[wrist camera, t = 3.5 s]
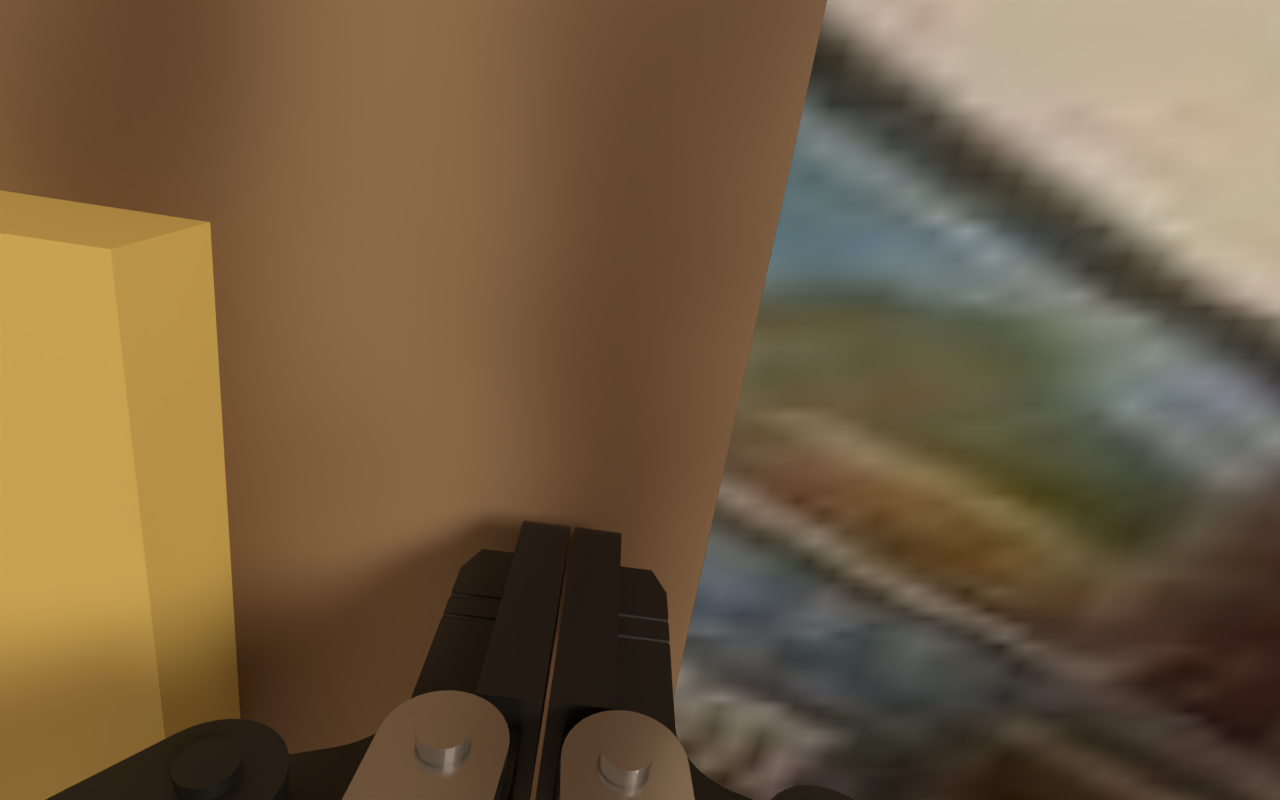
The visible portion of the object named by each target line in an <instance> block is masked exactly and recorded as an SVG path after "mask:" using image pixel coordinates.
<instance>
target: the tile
mask: <svg viewBox="0 0 1280 800" xmlns="http://www.w3.org/2000/svg"><path fill="white" fill-rule="evenodd" d="M222 719H240V705H239V688H238V672H237V655H236V639H235V622H234V606H233V590H232V573H231V557H230V540H229V524H228V507H227V491H226V474H225V458H224V441H223V425H222V408H221V392H220V376H219V359H218V343H217V326H216V310H215V293H214V277H213V260H212V244H211V227H210V222H205V221H199V220H192V219H185V218H179V217H172V216H166V215H159V214H152V213H146V212H139V211H133V210H126V209H119V208H113V207H106V206H100V205H93V204H87V203H80V202H73V201H67V200H60V199H54V198H47V197H40V196H34V195H27V194H21V193H14V192H7V191H1V190H0V800H45V799H47V798H49V797H51V796H53V795H55V794H57V793H59V792H61V791H63V790H65V789H67V788H69V787H71V786H73V785H75V784H77V783H79V782H81V781H83V780H85V779H87V778H89V777H91V776H93V775H95V774H97V773H99V772H101V771H103V770H105V769H107V768H109V767H110V766H112V765H114V764H116V763H118V762H120V761H122V760H124V759H126V758H128V757H130V756H132V755H134V754H136V753H138V752H140V751H142V750H144V749H146V748H148V747H150V746H152V745H154V744H156V743H158V742H160V741H162V740H164V739H166V738H168V737H170V736H172V735H174V734H176V733H178V732H180V731H182V730H185V729H187V728H189V727H192V726H195V725H198V724H201V723H205V722H210V721H214V720H222Z"/></svg>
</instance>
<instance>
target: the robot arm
mask: <svg viewBox="0 0 1280 800" xmlns="http://www.w3.org/2000/svg"><path fill="white" fill-rule="evenodd" d="M570 527H571V526H564V525H556V524H549V523H541V522H533V521H526V520H524V521H523V523H522V526H521V530H520V533H519V537H518V541H517V544H516V548H515V552H514V553H512V552H504V551H496V550H489V549H482V550H481V551H479V552H478V553H477V554H476V555H475V556H474V557H472V558H471V559H470V560H469V561H468V562H467V563H465V564H464V565H463V566H462V567H461V568H460V571H459V573H458V576H457V578H456V581H455V584H454V586H453V589H452V592H451V597H449V599H448V602H447V605H446V607H445V610H444V614H443V617H442V618H441V620H440V623H439V626H438V628H437V631H436V634H435V636H434V639H433V641H432V644H431V647H430V649H429V652H428V654H427V657H426V660H425V662H424V665H423V668H422V670H421V673H420V675H419V678H418V681H417V683H416V686H415V689H414V691H413V694H412V696H411V698H410V699H409V700H408V701H406V702H404V703H402V704H401V705H399V706H398V707H397V708H395V709H394V710H393V711H392V712H391V713H390V714H389V715H388V716H387V717H386V718H385V719H384V721H383V722H382V724H381V725H380V727H379V729H378V731H377V732H376V733H375V734H373V735H371V736H369V737H366V738H364V739H362V740H359V741H356V742H353V743H350V744H347V745H342V746H337V747H332V748H326V749H319V750H313V751H307V752H300V753H294V754H289V753H288V749H287V746H286V743H285V742H284V740H283V739H282V737H281V736H280V735H279V734H278V733H277V732H276V731H275V730H273V729H272V728H270V727H268V726H266V725H265V724H262V723H259V722H256V721H252V720H245V719H222V720H214V721H210V722H205V723H201V724H198V725H195V726H192V727H189V728H187V729H185V730H182V731H180V732H178V733H176V734H174V735H172V736H170V737H168V738H166V739H164V740H162V741H160V742H158V743H156V744H154V745H152V746H150V747H148V748H146V749H144V750H142V751H140V752H138V753H136V754H134V755H132V756H130V757H128V758H126V759H124V760H122V761H120V762H118V763H116V764H114V765H112V766H110V767H109V768H107V769H105V770H103V771H101V772H99V773H97V774H95V775H93V776H91V777H89V778H87V779H85V780H83V781H81V782H79V783H77V784H75V785H73V786H71V787H69V788H67V789H65V790H63V791H61V792H59V793H57V794H55V795H53V796H51V797H49V798H47V799H45V800H530V798H531V791H532V785H533V778H534V772H535V765H536V759H537V752H538V746H539V739H540V733H541V726H542V720H543V713H544V707H545V700H546V694H547V687H548V681H549V674H550V668H551V661H552V655H553V648H554V641H555V635H556V628H557V621H558V614H559V607H560V600H561V592H562V585H563V578H564V571H565V564H566V556H567V549H568V542H569V535H570ZM621 539H622V535H621V533H618V532H611V531H603V530H596V529H588V528H580V527H575V529H574V536H573V543H572V549H571V556H570V563H569V570H568V576H567V583H566V590H565V597H564V604H563V610H562V617H561V624H560V631H559V638H558V644H557V651H556V658H555V665H554V671H553V678H552V685H551V692H550V699H549V706H548V713H547V720H546V727H545V734H544V741H543V748H542V755H541V762H540V769H539V776H538V784H537V791H536V798H535V800H752V799H750V798H747V797H745V796H742V795H740V794H737V793H735V792H733V791H730V790H728V789H726V788H724V787H722V786H720V785H718V784H717V783H715V782H714V781H712V780H710V779H709V778H708V777H706V776H705V775H704V774H703V773H702V772H700V771H699V770H698V769H697V768H696V767H695V766H694V765H693V764H692V763H691V761H690V760H689V759H688V757H687V755H686V752H685V750H684V748H683V746H682V744H681V743H680V741H679V740H678V738H677V735H676V729H675V718H674V701H673V685H672V669H671V652H670V645H669V641H670V636H669V624H668V603H667V593H666V591H665V590H664V588H663V587H662V585H661V584H660V582H659V581H658V579H657V577H656V576H655V574H654V573H653V571H652V570H646V569H638V568H630V567H622V566H621ZM771 800H853V799H851V798H849V797H847V796H845V795H843V794H841V793H839V792H837V791H834V790H831V789H828V788H824V787H819V786H809V785H804V786H795V787H792V788H788V789H786V790H784V791H782V792H780V793H778V794H777V795H776V796H775V797H774V798H772V799H771Z"/></svg>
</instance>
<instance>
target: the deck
mask: <svg viewBox="0 0 1280 800" xmlns="http://www.w3.org/2000/svg"><path fill="white" fill-rule="evenodd" d="M826 2H827V0H0V190H1V191H7V192H14V193H21V194H27V195H34V196H40V197H47V198H54V199H60V200H67V201H73V202H80V203H87V204H93V205H100V206H106V207H113V208H119V209H126V210H133V211H139V212H146V213H152V214H159V215H166V216H172V217H179V218H185V219H192V220H199V221H205V222H210V227H211V244H212V260H213V277H214V293H215V310H216V326H217V343H218V359H219V376H220V392H221V408H222V425H223V441H224V458H225V474H226V491H227V507H228V524H229V540H230V557H231V573H232V590H233V606H234V622H235V639H236V655H237V672H238V688H239V705H240V719H245V720H252V721H256V722H259V723H262V724H265V725H266V726H268V727H270V728H272V729H273V730H275V731H276V732H277V733H278V734H279V735H280V736H281V737H282V739H283V740H284V742H285V743H286V746H287V749H288V753H289V754H294V753H300V752H307V751H313V750H319V749H326V748H332V747H337V746H342V745H347V744H350V743H353V742H356V741H359V740H362V739H364V738H366V737H369V736H371V735H373V734H375V733H376V732H377V731H378V729H379V727H380V725H381V724H382V722H383V721H384V719H385V718H386V717H387V716H388V715H389V714H390V713H391V712H392V711H393V710H394V709H395V708H397V707H398V706H399V705H401V704H402V703H404V702H406V701H408V700H409V699H410V698H411V696H412V694H413V691H414V689H415V686H416V683H417V681H418V678H419V675H420V673H421V670H422V668H423V665H424V662H425V660H426V657H427V654H428V652H429V649H430V647H431V644H432V641H433V639H434V636H435V634H436V631H437V628H438V626H439V623H440V620H441V618H442V617H443V614H444V610H445V607H446V605H447V602H448V599H449V597H451V592H452V589H453V586H454V584H455V581H456V578H457V576H458V573H459V571H460V568H461V567H462V566H463V565H464V564H465V563H467V562H468V561H469V560H470V559H471V558H472V557H474V556H475V555H476V554H477V553H478V552H479V551H481V550H482V549H489V550H496V551H504V552H512V553H514V552H515V548H516V544H517V541H518V537H519V533H520V530H521V526H522V523H523V521H524V520H526V521H533V522H541V523H549V524H556V525H564V526H571V527H570V535H569V542H568V549H567V556H566V564H565V571H564V578H563V585H562V592H561V600H560V607H559V614H558V621H557V628H556V635H555V641H554V648H553V655H552V661H551V668H550V674H549V681H548V687H547V694H546V700H545V707H544V713H543V720H542V726H541V733H540V739H539V746H538V752H537V759H536V765H535V772H534V778H533V785H532V791H531V798H530V800H535V798H536V791H537V784H538V776H539V769H540V762H541V755H542V748H543V741H544V734H545V727H546V720H547V713H548V706H549V699H550V692H551V685H552V678H553V671H554V665H555V658H556V651H557V644H558V638H559V631H560V624H561V617H562V610H563V604H564V597H565V590H566V583H567V576H568V570H569V563H570V556H571V549H572V543H573V536H574V529H575V527H580V528H588V529H596V530H603V531H611V532H618V533H621V535H622V539H621V566H622V567H630V568H638V569H646V570H652V571H653V573H654V574H655V576H656V577H657V579H658V581H659V582H660V584H661V585H662V587H663V588H664V590H665V591H666V593H667V603H668V624H669V636H670V641H669V645H670V652H671V669H672V685H673V698H674V693H675V688H676V684H677V679H678V675H679V670H680V666H681V661H682V657H683V652H684V648H685V643H686V638H687V634H688V629H689V625H690V620H691V616H692V611H693V607H694V602H695V598H696V593H697V588H698V584H699V579H700V575H701V570H702V566H703V561H704V557H705V552H706V548H707V543H708V538H709V534H710V529H711V525H712V520H713V516H714V511H715V507H716V502H717V498H718V493H719V488H720V484H721V479H722V475H723V470H724V466H725V461H726V457H727V452H728V447H729V443H730V438H731V434H732V429H733V425H734V420H735V416H736V411H737V407H738V402H739V397H740V393H741V388H742V384H743V379H744V375H745V370H746V366H747V361H748V357H749V352H750V347H751V343H752V338H753V334H754V329H755V325H756V320H757V316H758V311H759V307H760V302H761V297H762V293H763V288H764V284H765V279H766V275H767V270H768V266H769V261H770V257H771V252H772V247H773V243H774V238H775V234H776V229H777V225H778V220H779V216H780V211H781V207H782V202H783V197H784V193H785V188H786V184H787V179H788V175H789V170H790V166H791V161H792V157H793V152H794V147H795V143H796V138H797V134H798V129H799V125H800V120H801V116H802V111H803V107H804V102H805V97H806V93H807V88H808V84H809V79H810V75H811V70H812V66H813V61H814V56H815V52H816V47H817V43H818V38H819V34H820V29H821V25H822V20H823V16H824V11H825V6H826Z"/></svg>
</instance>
